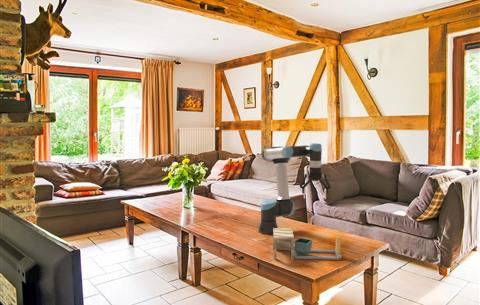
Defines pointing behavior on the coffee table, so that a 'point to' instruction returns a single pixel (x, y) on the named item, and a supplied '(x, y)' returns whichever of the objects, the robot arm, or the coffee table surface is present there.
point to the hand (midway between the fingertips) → (314, 198)
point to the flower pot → (303, 246)
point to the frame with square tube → (336, 251)
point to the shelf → (283, 241)
